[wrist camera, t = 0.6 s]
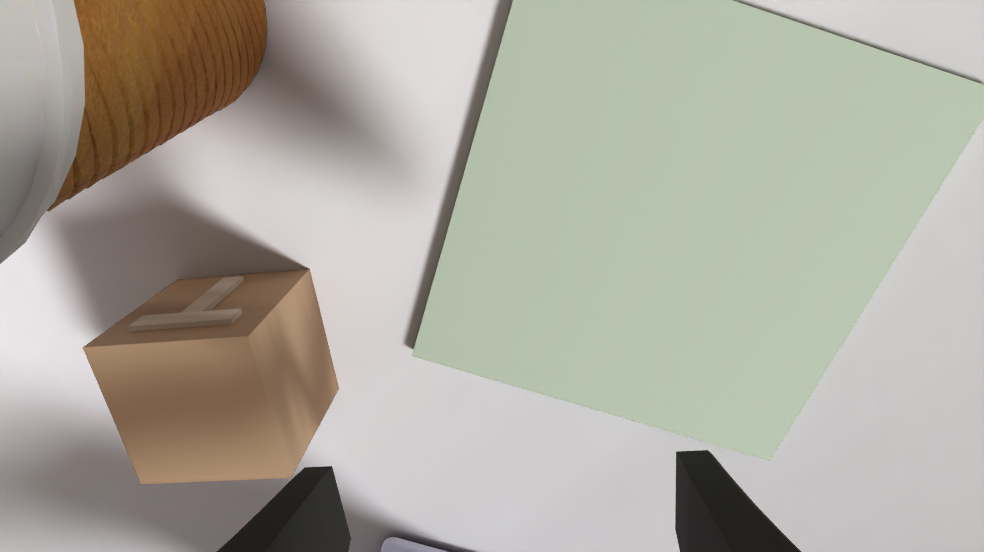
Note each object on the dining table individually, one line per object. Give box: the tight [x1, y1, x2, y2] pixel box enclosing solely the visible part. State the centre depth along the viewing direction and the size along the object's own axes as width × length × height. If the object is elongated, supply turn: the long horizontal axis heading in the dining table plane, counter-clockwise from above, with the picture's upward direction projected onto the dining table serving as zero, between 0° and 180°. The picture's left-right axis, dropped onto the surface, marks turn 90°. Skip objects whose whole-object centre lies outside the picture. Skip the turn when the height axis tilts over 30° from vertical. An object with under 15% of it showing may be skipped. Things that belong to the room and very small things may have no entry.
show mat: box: [412, 0, 984, 461], centre depth 20 cm, size 14×14×1 cm
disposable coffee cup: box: [0, 0, 267, 264], centre depth 13 cm, size 10×10×12 cm
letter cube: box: [83, 269, 339, 484], centre depth 20 cm, size 5×5×5 cm
